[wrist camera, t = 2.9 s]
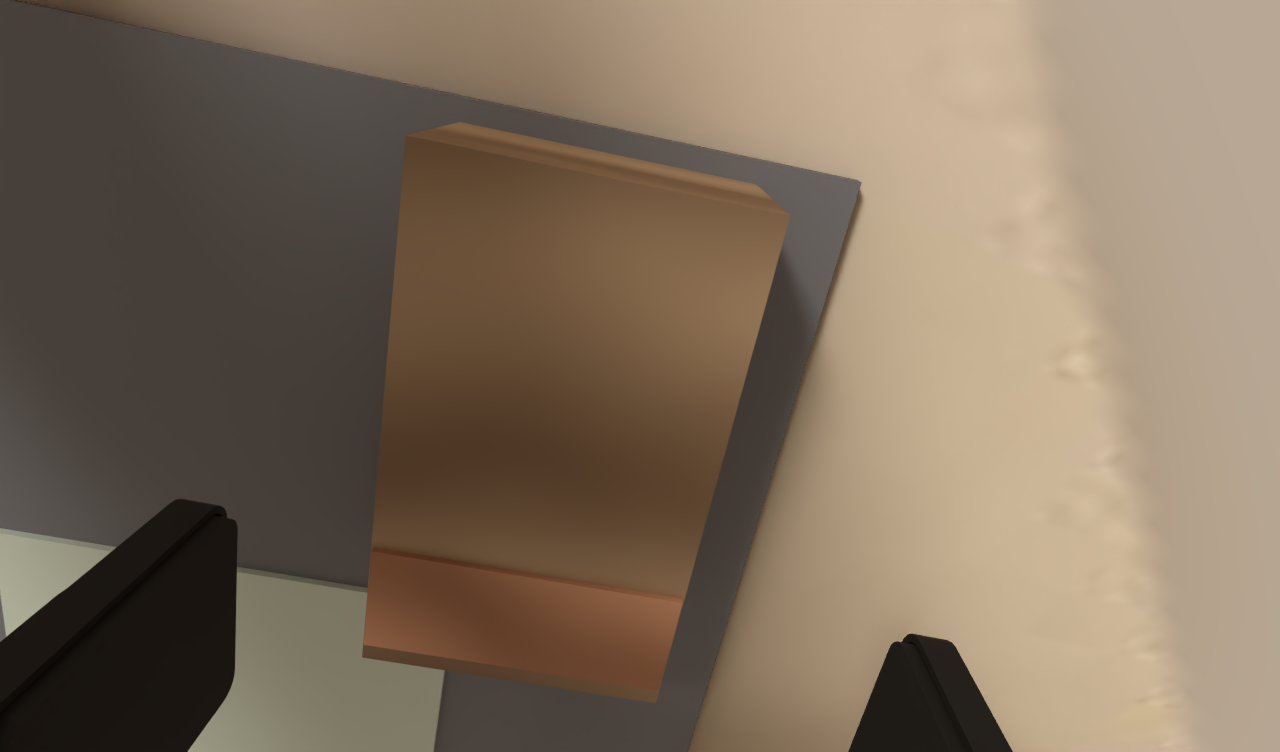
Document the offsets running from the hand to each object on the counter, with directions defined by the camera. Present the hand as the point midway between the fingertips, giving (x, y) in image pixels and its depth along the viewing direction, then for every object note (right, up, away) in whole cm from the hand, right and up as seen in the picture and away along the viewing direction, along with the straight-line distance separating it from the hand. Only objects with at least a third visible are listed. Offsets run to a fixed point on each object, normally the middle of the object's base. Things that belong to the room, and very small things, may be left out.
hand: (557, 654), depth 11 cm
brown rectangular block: (-1, +4, +8) cm, 8 cm away
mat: (-6, -2, +10) cm, 12 cm away
